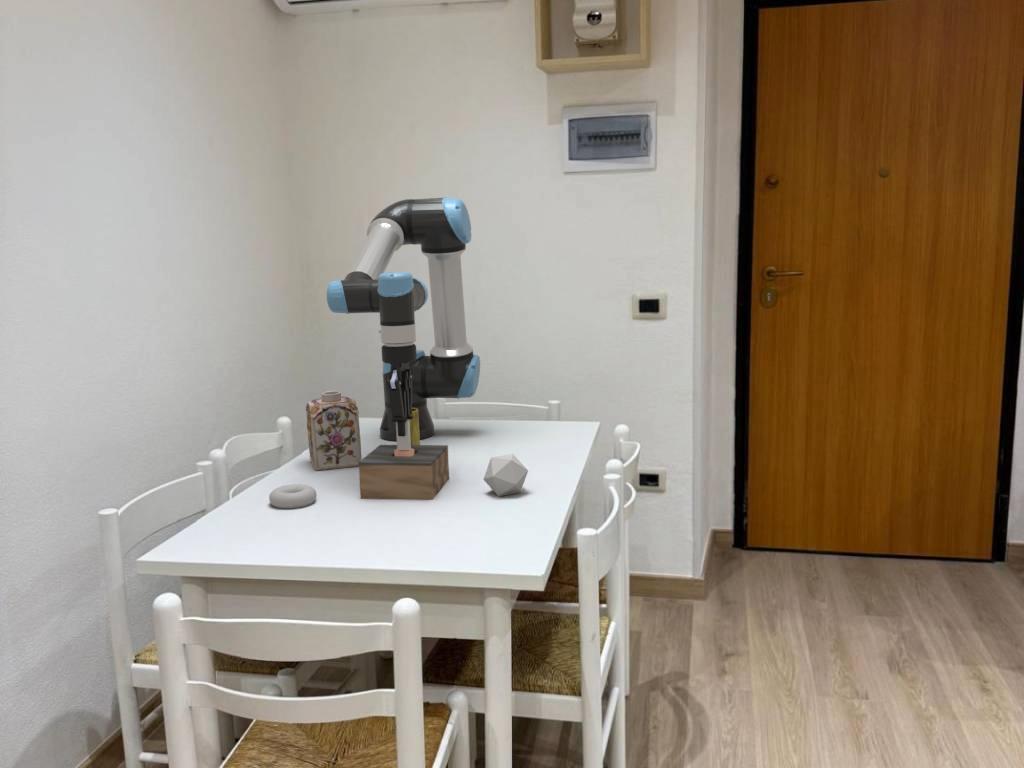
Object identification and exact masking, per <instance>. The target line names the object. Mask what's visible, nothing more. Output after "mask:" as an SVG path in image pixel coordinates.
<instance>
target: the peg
mask: <svg viewBox="0 0 1024 768" xmlns="http://www.w3.org/2000/svg"><path fill="white" fill-rule="evenodd" d="M394 454H395V456H414V455H415V454H414V449H412V448H411V449H410V450H397V449H396V450H394Z"/></svg>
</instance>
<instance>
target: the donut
mask: <svg viewBox="0 0 1024 768" xmlns="http://www.w3.org/2000/svg"><path fill="white" fill-rule="evenodd" d="M316 491H317V490H316V489H315V488H314V487H312V486H311V485H307V484H301V483H299V484H296V483H295V484H286V485H282V486H278V487H276V488H274V489H273V490H272V491H271V492H270V493H269V497H268V500H269V503H270V504H271V505H272V506H273V507H275V508H278V509H298V508H304V507H307V506H309V505H311V504H313V503H314V502H315V501H316V499H317V492H316Z"/></svg>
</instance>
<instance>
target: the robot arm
mask: <svg viewBox="0 0 1024 768" xmlns="http://www.w3.org/2000/svg"><path fill="white" fill-rule="evenodd" d="M471 231H472V223H471V219H470V215H469V212H468V208H467V205H466V203H464V201H463V200H462V199H460V198H458V197H457V198H454V197H434V198H433V197H432V198H416V199H415V198H414V199H412V198H411V199H409V198H408V199H406V198H405V199H402V200H399V201H396V202H394V203H392V204H390V205H388V206H386V207H385V208H384V209H382V210H381V211H379V213H377V214H376V215H375V216H374V218H373V219H372V220H371V222H370V223H369V225H368V226H367V230H366V236H367V238H366V239H365V241H364V242H363V245H362V246H361V248H360V250H359V252H358V254H357V255H356V257H355V260H353V262H352V265H351V267H350V268H349V270H348V272H347V274H346V276H345V277H344V279H338V280H332V281H330V282H329V283H328V285H327V288H326V302H327V306H328V308H329V310H330V311H331V313H332V312H333V313H334V314H335V313H336V314H346V315H348V314H368V313H369V314H370V313H371V314H372V313H375V314H377V313H379V321H380V322H379V323H380V324H379V326H380V328H379V329H378V333H379V334H380V339H381V340H380V341H381V343H382V344H383V345H382V346H381V361H382V372H381V373H382V380H383V381H382V383H383V384H382V385H383V396H384V397H383V398H384V412H383V415H382V419H381V423H380V426H379V437H380V438H381V439H382V440H385V441H394V442H395V441H396V445H397V450H410V449H411V440H410V421H409V420H408V419H413V416H410V415H412V408H417V409H418V412H419V433H420V440H422V439H423V440H424V439H427V438H430V437H433V436H434V435H435V434H436V433H435V431H436V430H435V425H434V421H433V419H432V417H431V413H430V411H429V409H428V400H427V399H457V400H458V399H465V398H466V399H467V398H472V397H474V396H475V394H476V392H477V390H478V386H479V380H480V373H481V372H480V371H481V359H480V356H479V355H477V354H474V349H473V346H472V345H470V343H468V342H467V330H466V329H467V328H466V327H467V326H466V313H465V301H464V288H463V273H462V271H463V270H462V261H461V260H462V259H461V258H462V257H461V256H462V254H463V253H464V252H465V251H466V250H467V249H466V247H467V246H466V245H467V244H469V243H470V242H471V240H472V232H471ZM405 245H406V246H407V245H415V246H416V245H420V250H421V254H423V255H424V256H425V257H426V258H427V264H428V275H429V277H428V278H429V289H430V298H431V299H430V301H431V311H432V313H431V314H432V324H433V335H434V346H433V347H432V348H431V349H430V350H429V353H430V355H426V353H425V351H424V350H423V349H417V345H416V343H415V342H416V341H417V336H416V335H417V333H416V320H415V319H416V318H415V312H416V311H419V310H420V309H421V308H422V307H424V306H425V305H426V303H427V300H428V296H429V291H428V288H427V286H426V284H425V283H424V282H423V281H422V280H421V279H418V278H415V277H413V274H412V273H411V272H409V271H408V272H407V271H395V272H385V271H386V270H387V267H388V265H389V264H390V261H391V259H392V257H393V255H394V253H395V252H397V251H398V250H400V249H401V247H402V246H405Z"/></svg>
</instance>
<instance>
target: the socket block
mask: <svg viewBox="0 0 1024 768" xmlns="http://www.w3.org/2000/svg"><path fill="white" fill-rule="evenodd" d="M411 448H412V449H414V454H415V455H414V456H395V454H394V450H396V449H397V444H379V445H378V446H377V447H376V448H374V449H373V450H372V451H371V452H370V453H368V454H367V455H366V456H364V457H363V458H361V461H360V462H358V463H359V466H358V476H359V477H358V478H359V491H360V499H379V500H380V499H385V500H386V499H387V500H389V499H391V500H434V498H435V497H436V496H437V495H438V494H439V492H440V491H441V490H442V489H443V487H444V486H445V485H446V484H447V482H448V481H449V480H450V464H449V445H448V444H434V445H432V444H420V445H411Z"/></svg>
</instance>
